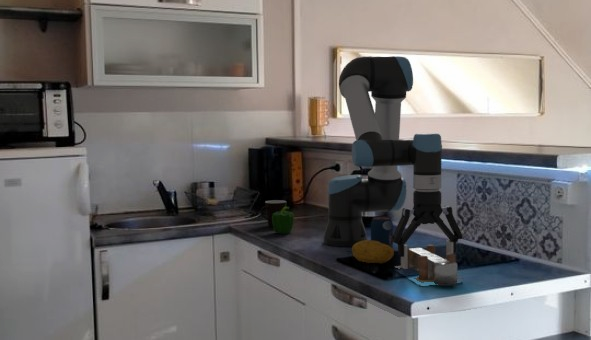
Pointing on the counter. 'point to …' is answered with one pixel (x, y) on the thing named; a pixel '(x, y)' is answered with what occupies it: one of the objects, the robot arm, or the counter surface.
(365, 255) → the potato
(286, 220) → the bell pepper
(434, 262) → the grey ridged block
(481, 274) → the counter surface
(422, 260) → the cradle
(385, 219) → the soda can
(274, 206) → the coffee mug
